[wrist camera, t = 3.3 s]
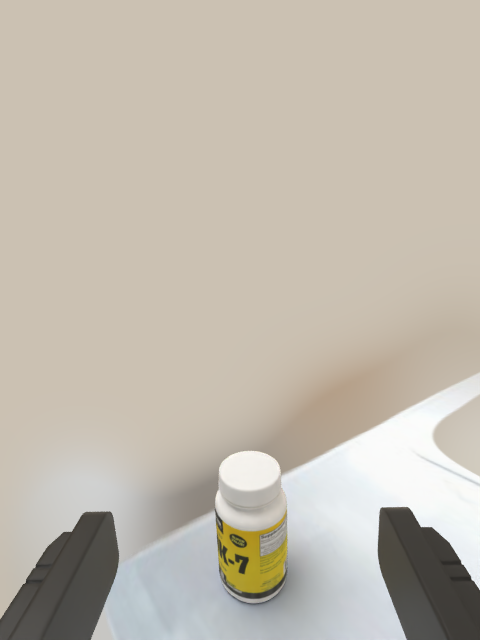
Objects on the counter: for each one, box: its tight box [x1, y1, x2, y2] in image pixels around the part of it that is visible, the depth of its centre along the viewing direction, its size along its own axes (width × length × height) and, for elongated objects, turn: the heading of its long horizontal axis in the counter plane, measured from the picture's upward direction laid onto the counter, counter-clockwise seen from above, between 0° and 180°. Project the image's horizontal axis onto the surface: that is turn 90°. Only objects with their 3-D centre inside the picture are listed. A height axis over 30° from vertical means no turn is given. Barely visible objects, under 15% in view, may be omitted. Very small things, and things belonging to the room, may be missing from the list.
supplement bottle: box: [215, 451, 287, 603], centre depth 24 cm, size 5×5×8 cm
